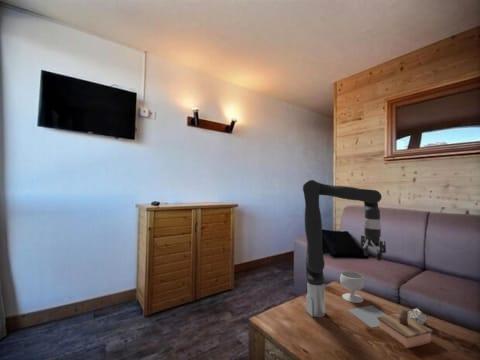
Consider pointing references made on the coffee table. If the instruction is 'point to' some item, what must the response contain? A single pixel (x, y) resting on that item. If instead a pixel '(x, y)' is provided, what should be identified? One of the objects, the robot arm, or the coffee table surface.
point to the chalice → (352, 285)
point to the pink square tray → (405, 342)
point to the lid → (404, 324)
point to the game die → (417, 316)
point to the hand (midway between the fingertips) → (372, 257)
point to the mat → (368, 315)
